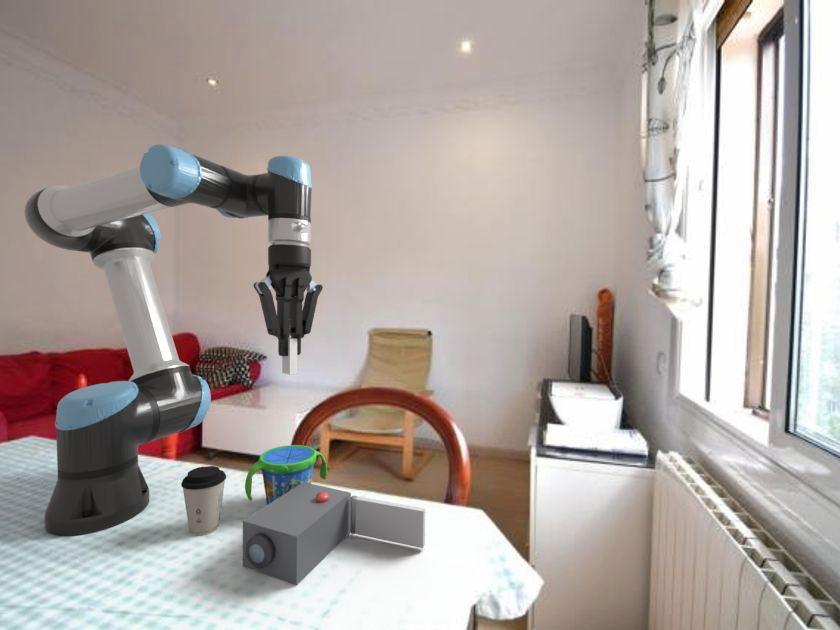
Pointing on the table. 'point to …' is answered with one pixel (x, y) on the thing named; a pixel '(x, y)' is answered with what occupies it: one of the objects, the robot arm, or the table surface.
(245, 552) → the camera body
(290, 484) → the snack cup
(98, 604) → the table surface
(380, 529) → the door
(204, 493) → the coffee cup
